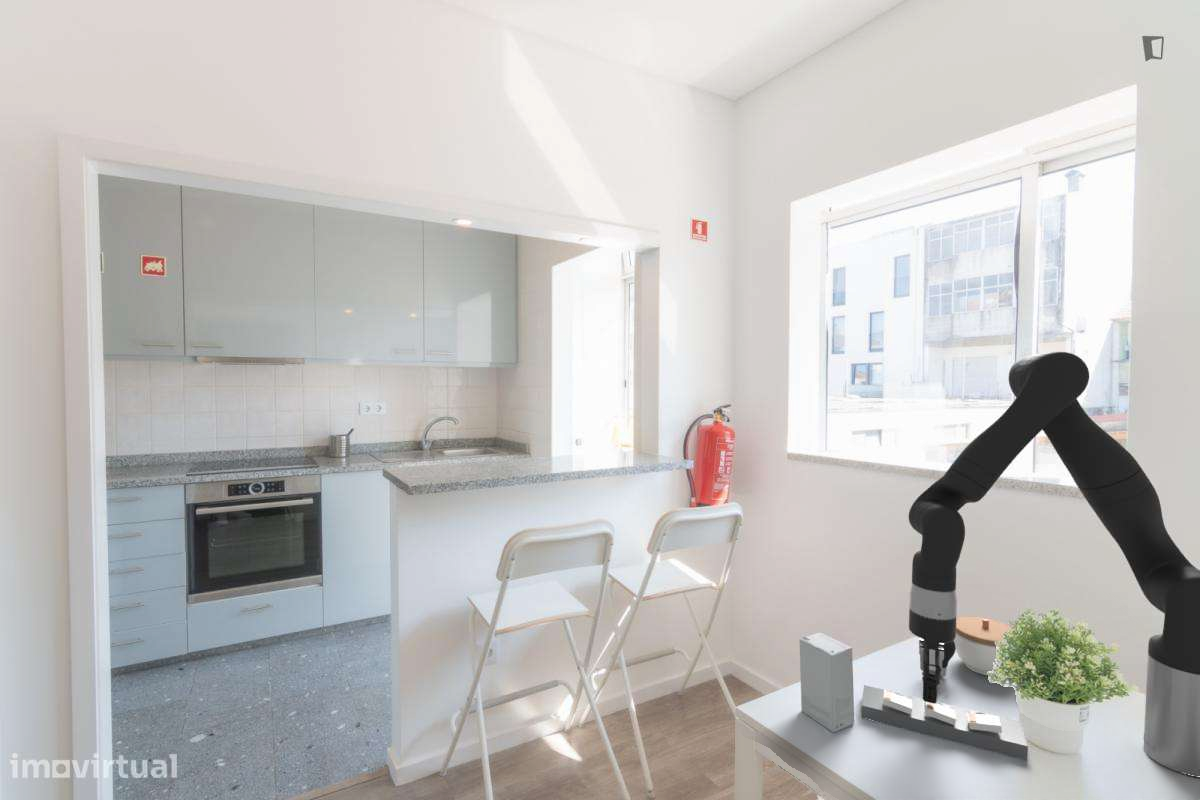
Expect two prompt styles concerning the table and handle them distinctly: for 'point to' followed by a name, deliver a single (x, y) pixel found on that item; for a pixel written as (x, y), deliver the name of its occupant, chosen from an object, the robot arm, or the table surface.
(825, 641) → the skincare box
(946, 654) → the light bulb
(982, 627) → the lidded bowl
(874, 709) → the power strip
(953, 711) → the rocker middle
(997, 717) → the rocker
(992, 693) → the table surface
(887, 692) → the rocker
